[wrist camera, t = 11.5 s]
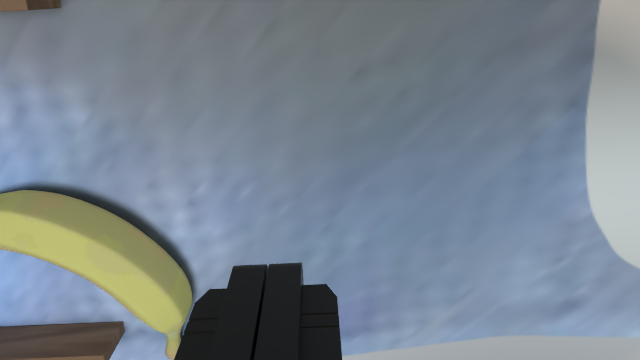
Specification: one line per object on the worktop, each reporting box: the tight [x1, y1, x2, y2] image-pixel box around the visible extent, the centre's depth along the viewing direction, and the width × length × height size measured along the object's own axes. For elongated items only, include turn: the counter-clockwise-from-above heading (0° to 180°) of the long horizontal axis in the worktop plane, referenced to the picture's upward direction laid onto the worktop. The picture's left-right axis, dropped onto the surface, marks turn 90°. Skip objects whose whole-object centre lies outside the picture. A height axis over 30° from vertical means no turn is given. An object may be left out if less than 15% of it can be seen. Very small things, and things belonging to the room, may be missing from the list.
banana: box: [0, 190, 192, 360], centre depth 43 cm, size 14×6×20 cm
